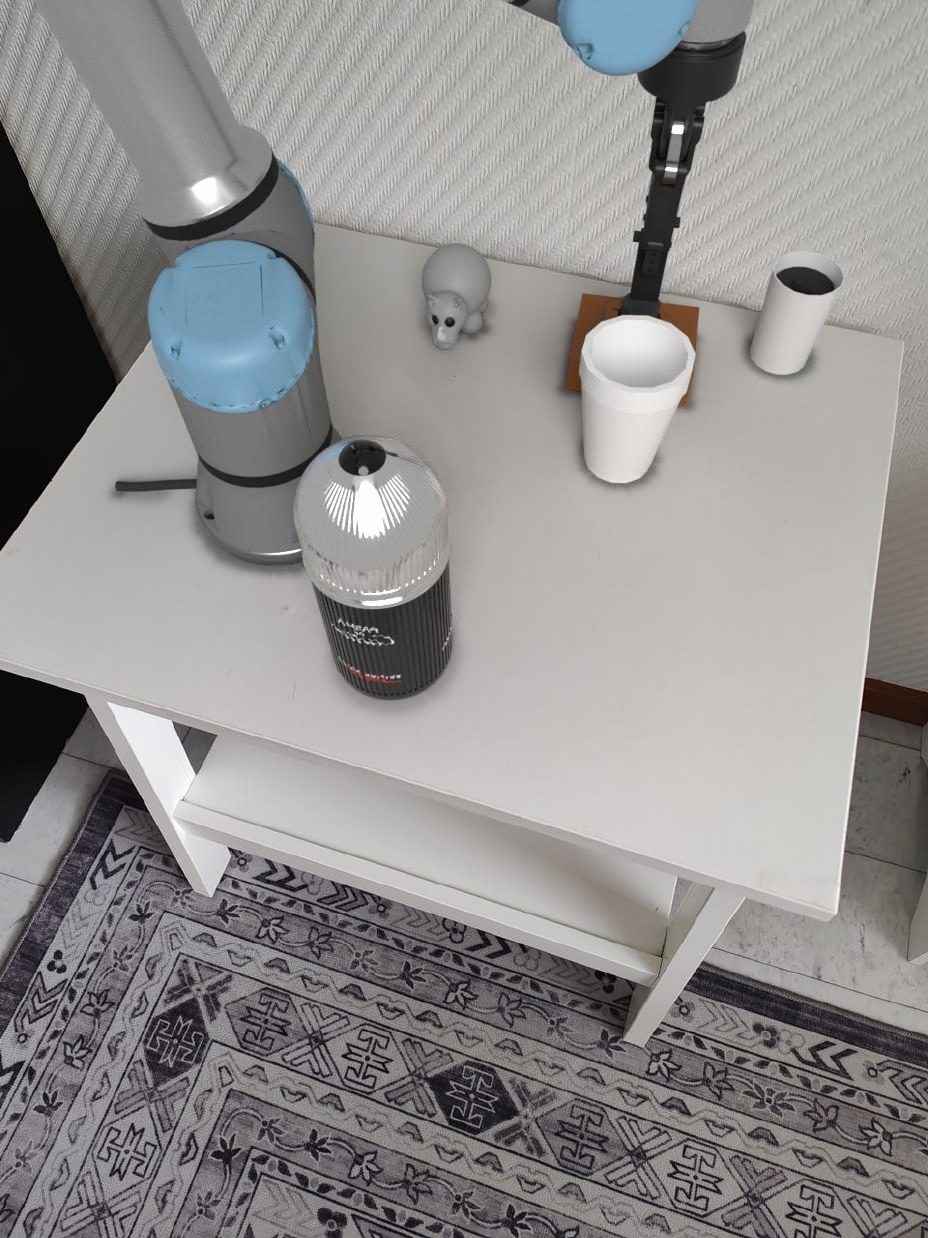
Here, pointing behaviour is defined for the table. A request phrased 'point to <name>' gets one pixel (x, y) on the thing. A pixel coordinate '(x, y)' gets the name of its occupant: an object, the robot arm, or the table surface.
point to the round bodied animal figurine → (455, 292)
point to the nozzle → (640, 307)
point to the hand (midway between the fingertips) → (644, 294)
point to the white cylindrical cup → (795, 310)
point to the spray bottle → (378, 563)
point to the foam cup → (630, 392)
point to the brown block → (610, 307)
